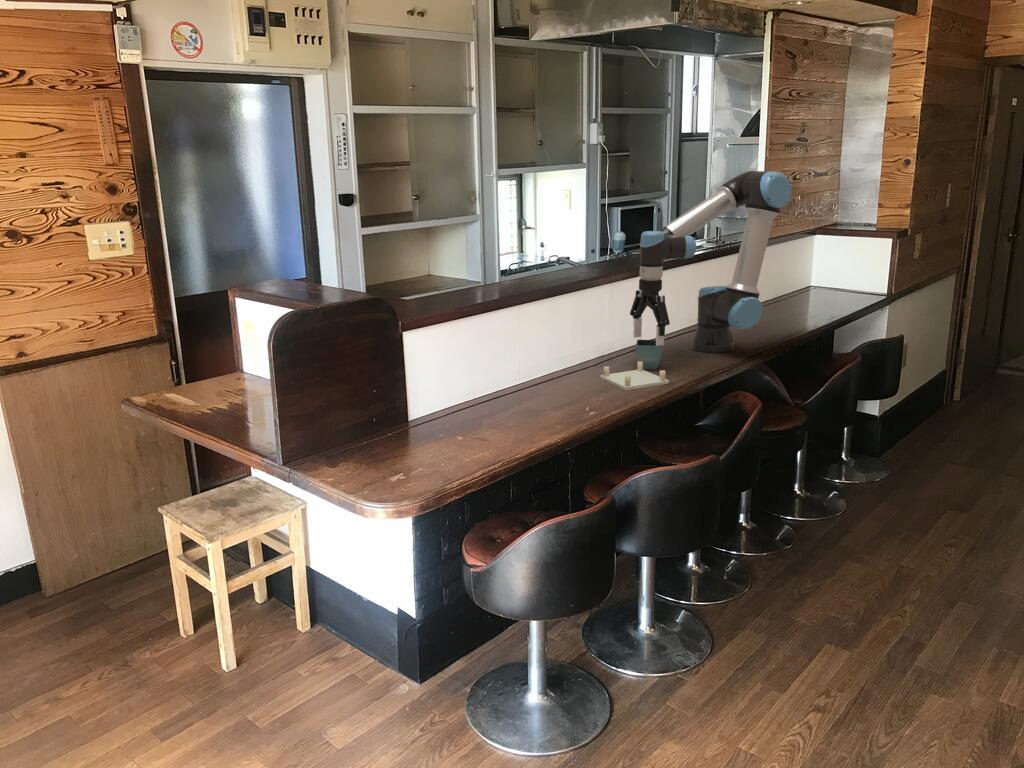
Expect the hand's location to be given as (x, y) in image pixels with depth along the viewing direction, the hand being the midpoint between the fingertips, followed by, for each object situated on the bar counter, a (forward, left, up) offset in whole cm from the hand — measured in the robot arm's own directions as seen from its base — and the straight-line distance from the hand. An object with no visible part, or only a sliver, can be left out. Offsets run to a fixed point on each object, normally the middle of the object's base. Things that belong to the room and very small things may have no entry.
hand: (648, 341), depth 283 cm
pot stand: (+13, +11, -10) cm, 19 cm away
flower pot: (0, 0, -10) cm, 10 cm away
